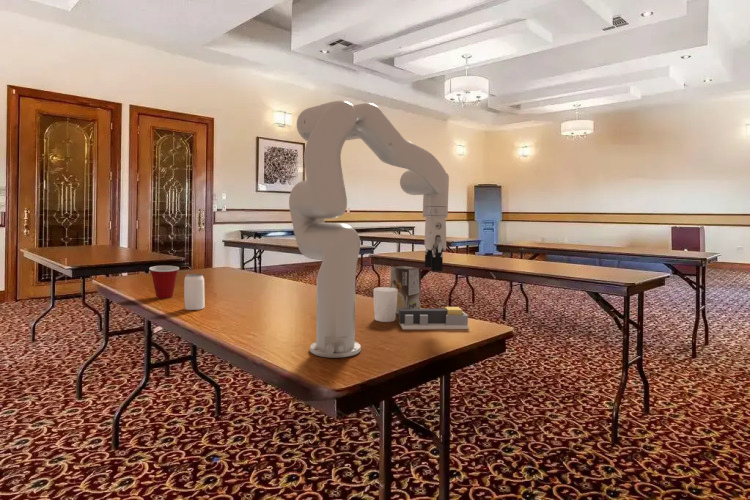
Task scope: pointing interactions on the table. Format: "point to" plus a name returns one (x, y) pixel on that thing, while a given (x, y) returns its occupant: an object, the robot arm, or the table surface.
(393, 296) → the white cup
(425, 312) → the gray box yellow end
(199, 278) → the can
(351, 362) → the table surface
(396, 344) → the table surface
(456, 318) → the clip rail
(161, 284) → the plastic cup
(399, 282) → the coffee box
